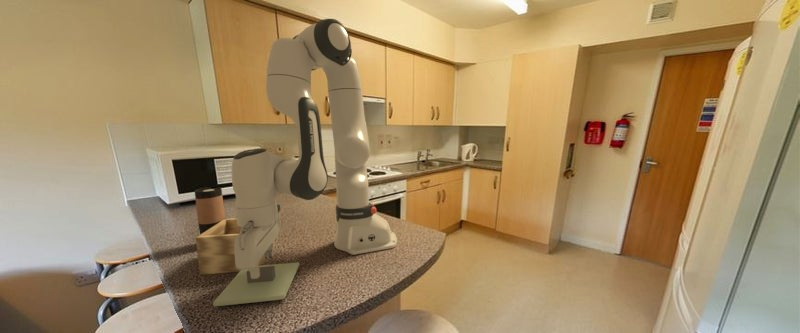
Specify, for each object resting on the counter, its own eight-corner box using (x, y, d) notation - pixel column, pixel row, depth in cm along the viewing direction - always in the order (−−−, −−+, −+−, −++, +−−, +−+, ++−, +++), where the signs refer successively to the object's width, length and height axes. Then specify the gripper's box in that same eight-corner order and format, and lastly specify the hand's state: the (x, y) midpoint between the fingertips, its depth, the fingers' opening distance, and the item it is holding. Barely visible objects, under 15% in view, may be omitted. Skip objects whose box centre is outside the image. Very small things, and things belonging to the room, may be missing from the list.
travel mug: (206, 250, 84) (199, 192, 82) (197, 244, 88) (190, 190, 86) (231, 241, 91) (225, 188, 88) (221, 237, 95) (215, 186, 92)
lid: (299, 269, 73) (298, 252, 72) (284, 303, 58) (282, 283, 58) (244, 274, 71) (242, 257, 70) (214, 311, 56) (211, 290, 55)
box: (274, 246, 87) (272, 216, 85) (257, 269, 72) (254, 233, 71) (228, 249, 84) (224, 218, 83) (200, 274, 70) (195, 237, 68)
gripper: (255, 229, 52) (262, 290, 54) (282, 202, 72) (286, 247, 74) (222, 232, 51) (230, 294, 53) (258, 203, 71) (263, 249, 73)
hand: (263, 266), depth 64 cm, fingers open, 8 cm apart
